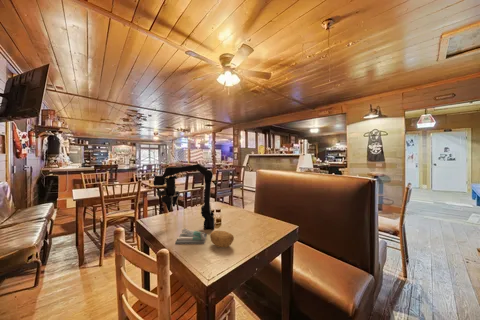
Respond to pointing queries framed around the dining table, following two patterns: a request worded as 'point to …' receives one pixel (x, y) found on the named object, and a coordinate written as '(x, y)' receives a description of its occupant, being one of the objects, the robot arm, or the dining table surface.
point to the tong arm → (193, 232)
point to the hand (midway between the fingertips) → (171, 208)
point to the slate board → (190, 239)
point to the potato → (221, 238)
